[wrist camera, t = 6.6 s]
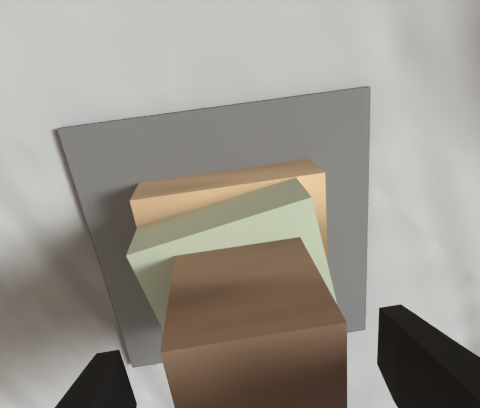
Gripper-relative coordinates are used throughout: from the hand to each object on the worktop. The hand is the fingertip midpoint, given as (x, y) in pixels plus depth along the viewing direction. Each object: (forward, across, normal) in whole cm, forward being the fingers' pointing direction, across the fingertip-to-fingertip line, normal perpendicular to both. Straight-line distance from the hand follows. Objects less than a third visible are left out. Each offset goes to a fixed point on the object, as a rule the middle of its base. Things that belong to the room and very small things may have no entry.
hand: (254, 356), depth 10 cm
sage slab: (+4, 0, 0) cm, 4 cm away
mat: (+7, 0, 0) cm, 7 cm away
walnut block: (+2, 0, 0) cm, 2 cm away
